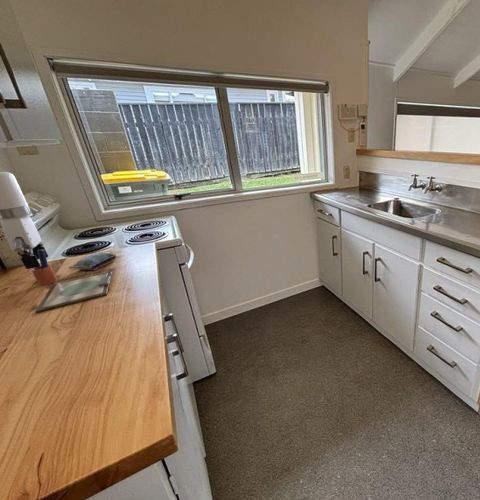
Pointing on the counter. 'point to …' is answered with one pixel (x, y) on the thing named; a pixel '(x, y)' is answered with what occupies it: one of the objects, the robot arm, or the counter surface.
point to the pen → (42, 258)
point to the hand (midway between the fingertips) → (38, 262)
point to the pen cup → (44, 275)
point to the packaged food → (93, 261)
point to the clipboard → (75, 291)
